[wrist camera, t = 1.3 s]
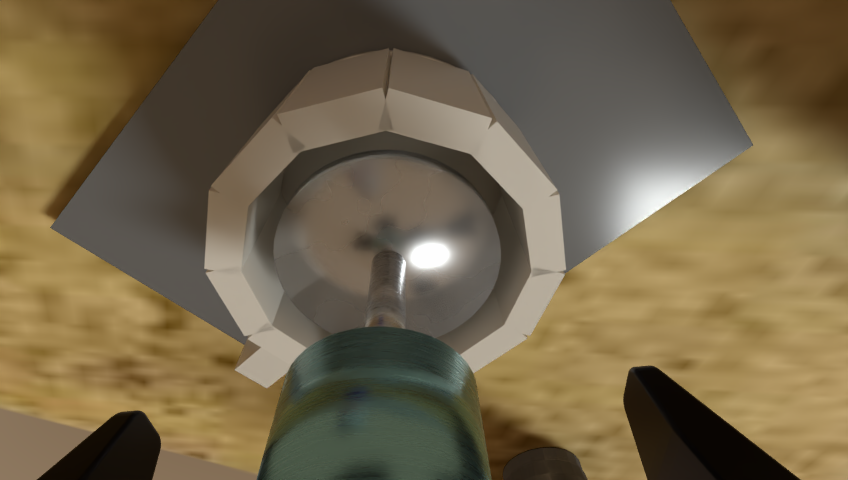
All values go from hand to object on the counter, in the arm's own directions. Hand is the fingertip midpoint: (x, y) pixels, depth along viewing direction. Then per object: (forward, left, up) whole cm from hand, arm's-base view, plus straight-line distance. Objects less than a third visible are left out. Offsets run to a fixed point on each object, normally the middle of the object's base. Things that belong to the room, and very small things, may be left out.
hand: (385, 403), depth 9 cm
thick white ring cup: (0, 0, -10) cm, 10 cm away
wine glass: (0, 0, -5) cm, 5 cm away
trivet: (0, 0, -10) cm, 10 cm away
